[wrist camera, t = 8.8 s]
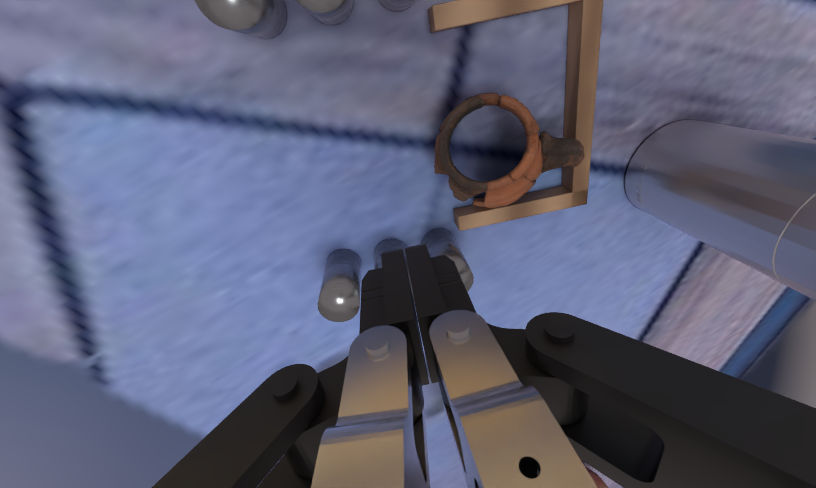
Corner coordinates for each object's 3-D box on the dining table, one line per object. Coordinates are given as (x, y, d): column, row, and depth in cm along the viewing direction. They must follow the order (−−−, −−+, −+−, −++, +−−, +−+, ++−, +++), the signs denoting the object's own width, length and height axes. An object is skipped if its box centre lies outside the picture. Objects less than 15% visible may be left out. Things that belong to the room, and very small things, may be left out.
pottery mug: (445, 215, 34) (434, 212, 26) (437, 121, 34) (422, 89, 26) (574, 201, 31) (605, 193, 23) (565, 99, 31) (594, 55, 23)
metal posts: (416, -54, 24) (433, -96, 17) (456, 254, 36) (475, 293, 29) (227, -15, 23) (177, -44, 17) (332, 280, 36) (324, 325, 29)
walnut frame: (589, -24, 25) (605, -31, 24) (575, 196, 34) (586, 203, 32) (427, 9, 25) (432, 5, 24) (454, 222, 34) (459, 230, 32)
